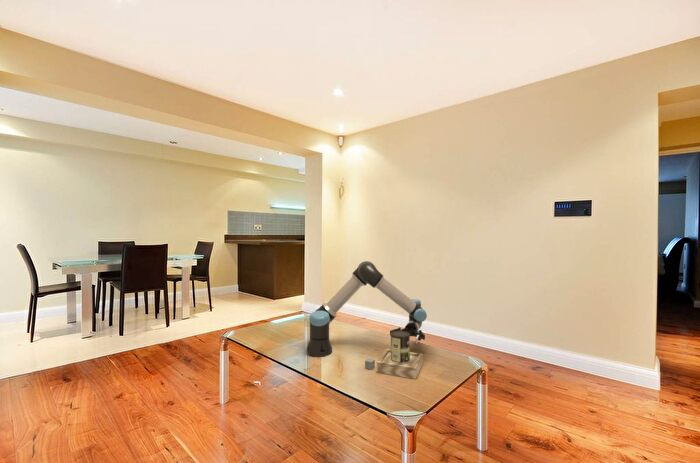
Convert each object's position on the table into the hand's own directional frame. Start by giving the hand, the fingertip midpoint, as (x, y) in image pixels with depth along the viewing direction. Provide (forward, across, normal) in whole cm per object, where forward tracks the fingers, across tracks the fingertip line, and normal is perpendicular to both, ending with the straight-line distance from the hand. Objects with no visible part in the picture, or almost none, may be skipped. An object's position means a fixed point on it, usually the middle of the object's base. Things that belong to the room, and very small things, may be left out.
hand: (403, 339), depth 174 cm
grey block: (+13, +15, -13) cm, 24 cm away
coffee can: (+7, 0, -9) cm, 11 cm away
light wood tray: (+7, 0, -13) cm, 15 cm away
